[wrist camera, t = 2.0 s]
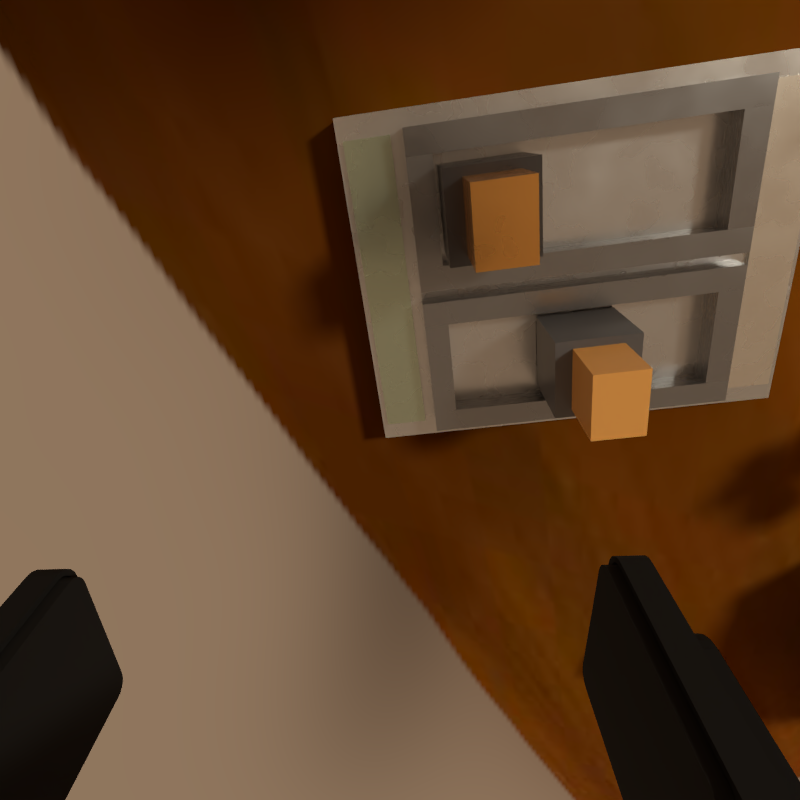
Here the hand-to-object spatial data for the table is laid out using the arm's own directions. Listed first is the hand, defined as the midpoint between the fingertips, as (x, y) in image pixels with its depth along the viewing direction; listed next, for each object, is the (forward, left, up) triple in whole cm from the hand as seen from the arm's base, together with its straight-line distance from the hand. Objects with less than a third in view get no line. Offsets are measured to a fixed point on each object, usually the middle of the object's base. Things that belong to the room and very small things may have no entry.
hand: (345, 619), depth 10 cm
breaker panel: (-10, 0, -22) cm, 24 cm away
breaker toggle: (-10, +4, -20) cm, 23 cm away
